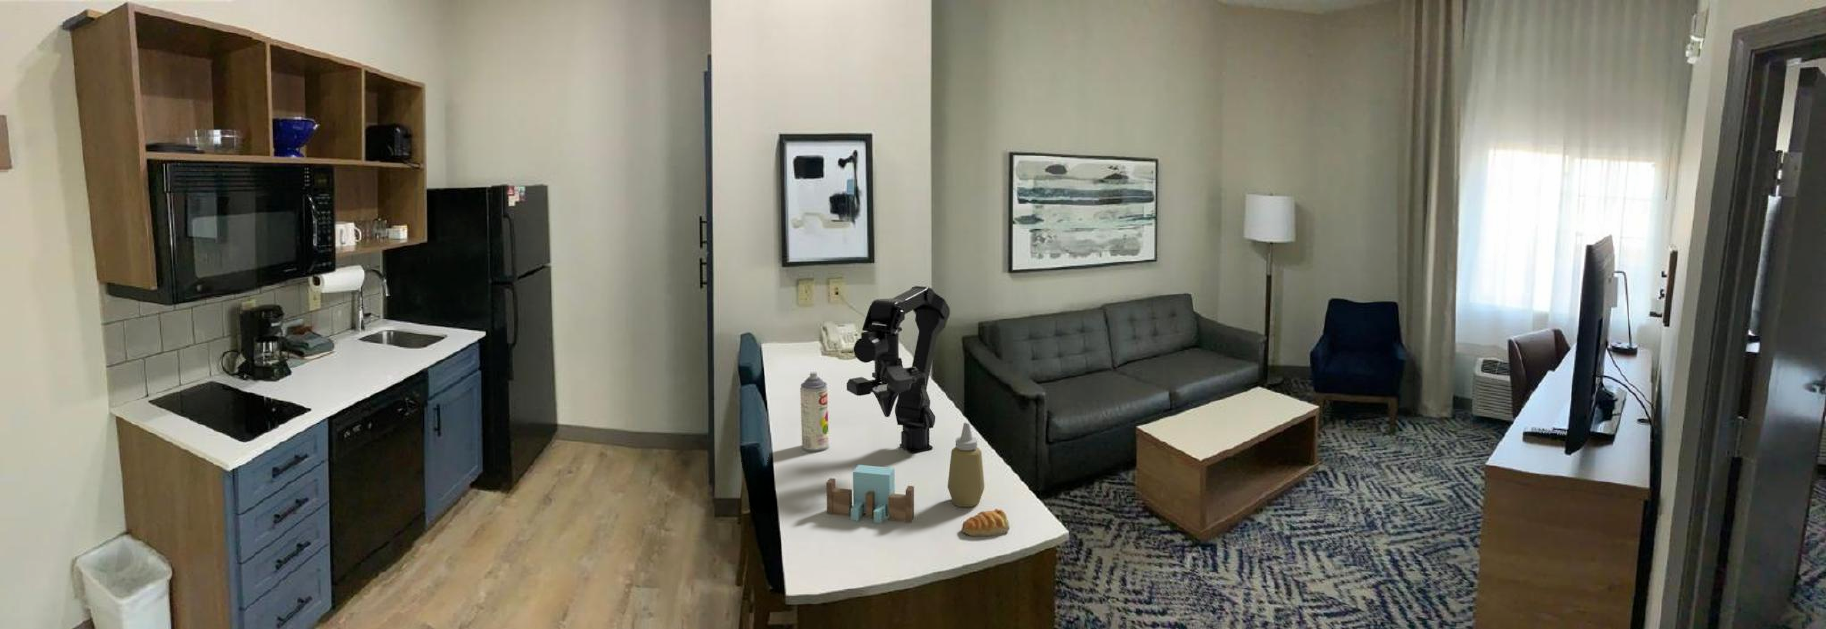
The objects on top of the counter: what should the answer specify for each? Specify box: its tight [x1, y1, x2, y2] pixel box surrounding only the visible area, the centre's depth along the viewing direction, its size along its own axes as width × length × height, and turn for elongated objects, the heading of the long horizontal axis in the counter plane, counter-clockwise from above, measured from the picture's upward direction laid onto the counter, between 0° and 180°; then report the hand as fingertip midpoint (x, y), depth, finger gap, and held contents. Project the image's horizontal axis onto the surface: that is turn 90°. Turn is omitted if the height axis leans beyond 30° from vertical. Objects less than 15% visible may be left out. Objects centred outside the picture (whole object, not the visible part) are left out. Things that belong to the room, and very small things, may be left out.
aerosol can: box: [799, 371, 830, 453], centre depth 210 cm, size 7×7×20 cm
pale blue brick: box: [850, 464, 896, 524], centre depth 173 cm, size 8×8×9 cm
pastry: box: [961, 508, 1011, 537], centre depth 166 cm, size 9×7×4 cm
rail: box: [825, 477, 915, 523], centre depth 172 cm, size 2×18×7 cm, turn 76°
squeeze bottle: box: [947, 422, 985, 508], centre depth 177 cm, size 8×8×18 cm
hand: (887, 416), depth 196 cm, fingers closed
